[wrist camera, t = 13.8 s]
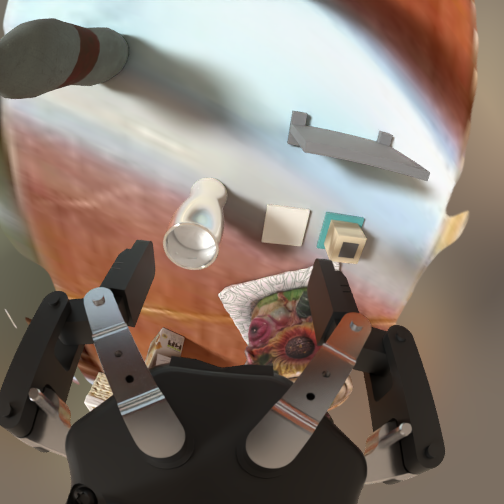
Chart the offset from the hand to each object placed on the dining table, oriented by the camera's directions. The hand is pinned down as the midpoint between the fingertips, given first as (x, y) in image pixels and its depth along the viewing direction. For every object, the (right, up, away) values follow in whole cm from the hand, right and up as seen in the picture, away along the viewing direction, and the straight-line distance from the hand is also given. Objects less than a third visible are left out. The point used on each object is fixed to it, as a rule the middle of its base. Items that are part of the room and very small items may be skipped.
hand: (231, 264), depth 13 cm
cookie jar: (+9, -12, +46) cm, 48 cm away
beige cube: (+16, +4, +33) cm, 37 cm away
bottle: (-21, +30, +16) cm, 40 cm away
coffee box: (-21, -22, +52) cm, 60 cm away
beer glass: (-6, +10, +30) cm, 32 cm away
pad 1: (+6, +5, +33) cm, 34 cm away
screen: (+14, +18, +24) cm, 33 cm away
